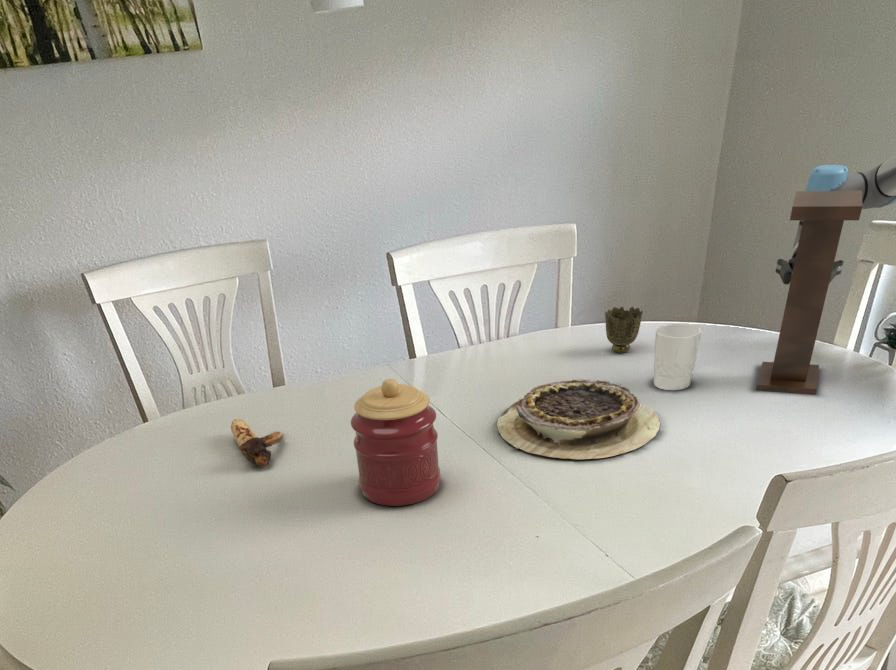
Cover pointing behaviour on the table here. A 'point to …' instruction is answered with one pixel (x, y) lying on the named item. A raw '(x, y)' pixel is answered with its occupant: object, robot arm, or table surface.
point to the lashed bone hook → (254, 442)
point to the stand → (808, 288)
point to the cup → (622, 327)
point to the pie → (578, 420)
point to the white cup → (675, 355)
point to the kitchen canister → (396, 445)
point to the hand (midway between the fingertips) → (805, 289)
